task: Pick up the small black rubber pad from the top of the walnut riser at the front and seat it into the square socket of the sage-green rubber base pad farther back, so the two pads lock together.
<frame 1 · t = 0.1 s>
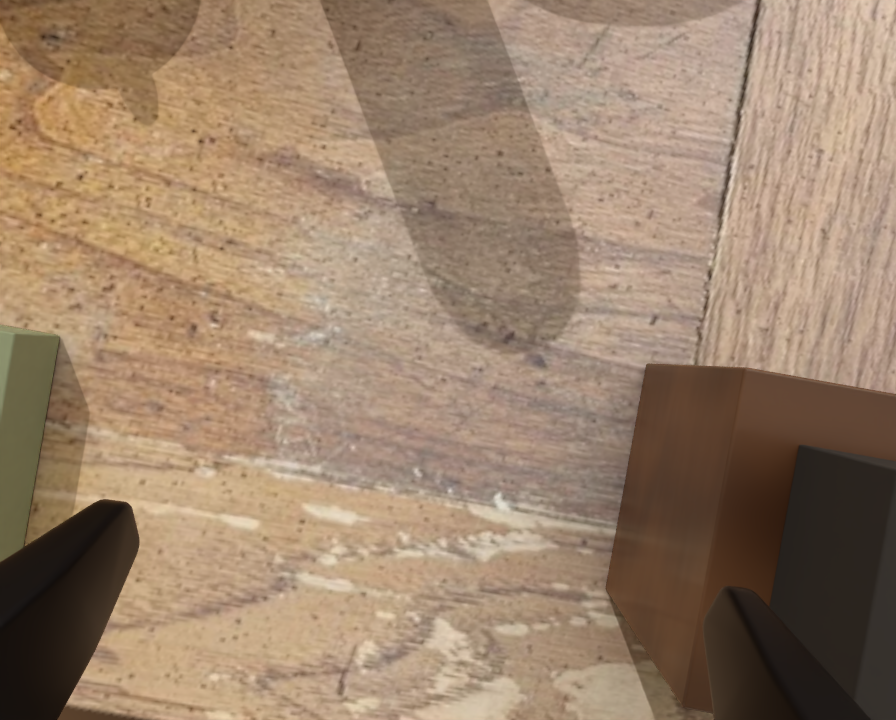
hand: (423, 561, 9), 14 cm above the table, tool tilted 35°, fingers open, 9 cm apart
riser: (739, 496, 24), on the table
black pad: (885, 569, 16), point 8 cm above the table, touching riser
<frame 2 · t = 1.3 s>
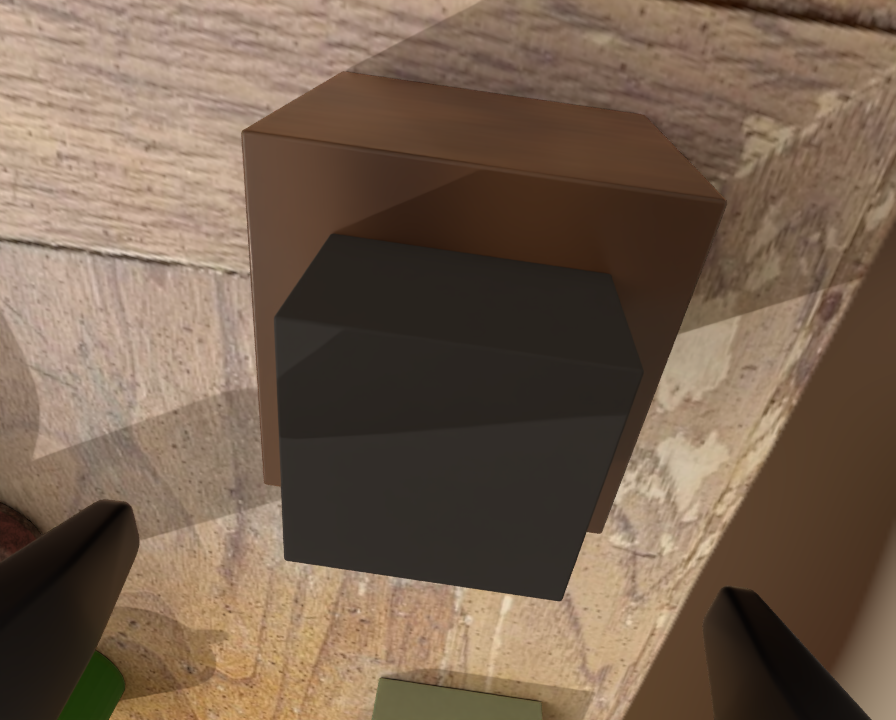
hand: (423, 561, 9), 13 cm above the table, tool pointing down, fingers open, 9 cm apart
candle: (60, 667, 38), on the table
riser: (471, 237, 20), on the table
black pad: (453, 369, 13), point 8 cm above the table, touching riser
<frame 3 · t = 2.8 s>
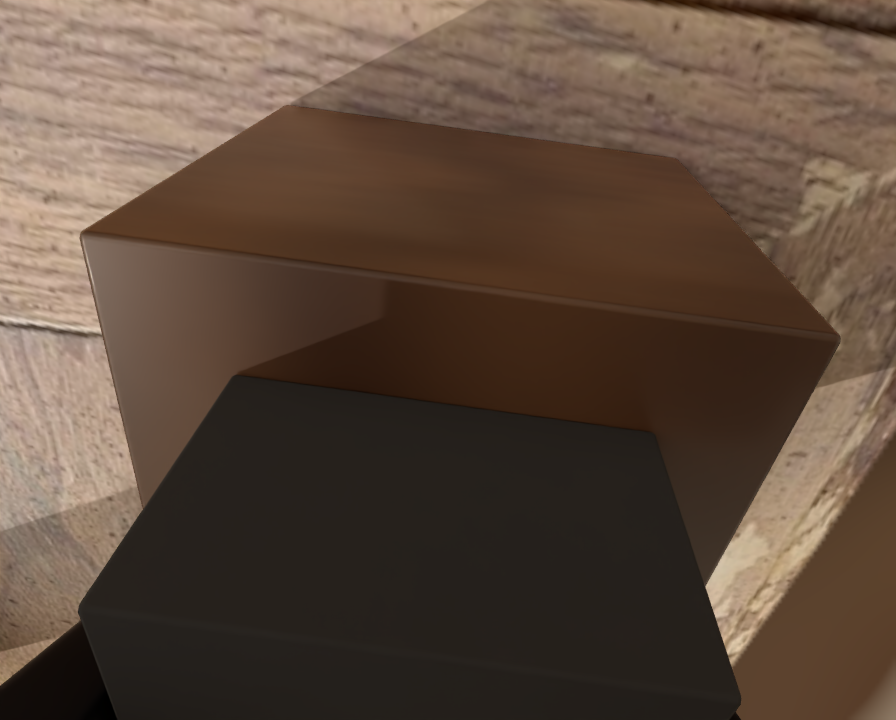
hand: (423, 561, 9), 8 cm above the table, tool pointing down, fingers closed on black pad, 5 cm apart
riser: (457, 305, 16), on the table
black pad: (424, 543, 9), point 8 cm above the table, touching gripper, riser
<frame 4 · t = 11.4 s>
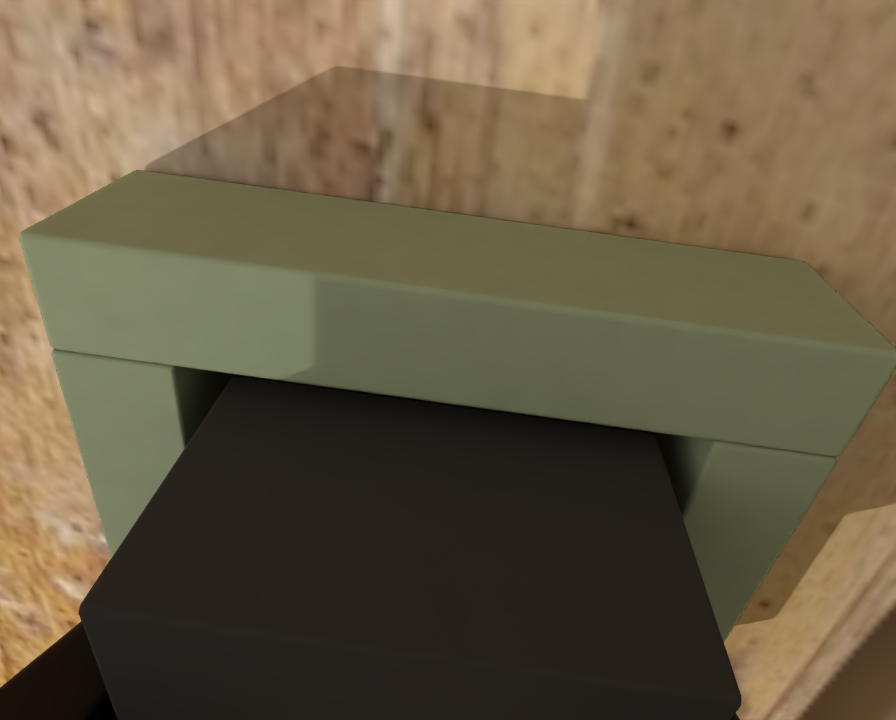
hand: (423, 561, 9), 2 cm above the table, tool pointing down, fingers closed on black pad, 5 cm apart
base pad: (435, 463, 11), on the table
black pad: (424, 544, 9), point 2 cm above the table, touching gripper
when the fingers open (3 cm above the table, at t = 15.1 s): black pad drops 2 cm, resting in base pad.
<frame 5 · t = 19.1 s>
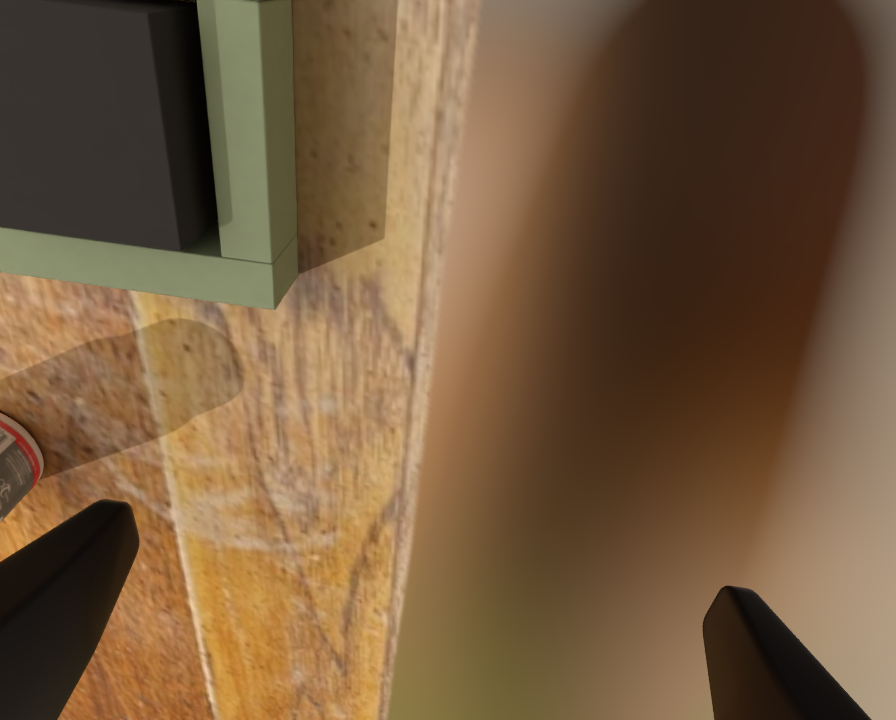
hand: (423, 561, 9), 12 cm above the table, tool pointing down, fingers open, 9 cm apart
base pad: (133, 105, 18), on the table
black pad: (128, 103, 18), resting in base pad
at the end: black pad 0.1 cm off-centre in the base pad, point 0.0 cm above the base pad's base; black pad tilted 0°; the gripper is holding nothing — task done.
